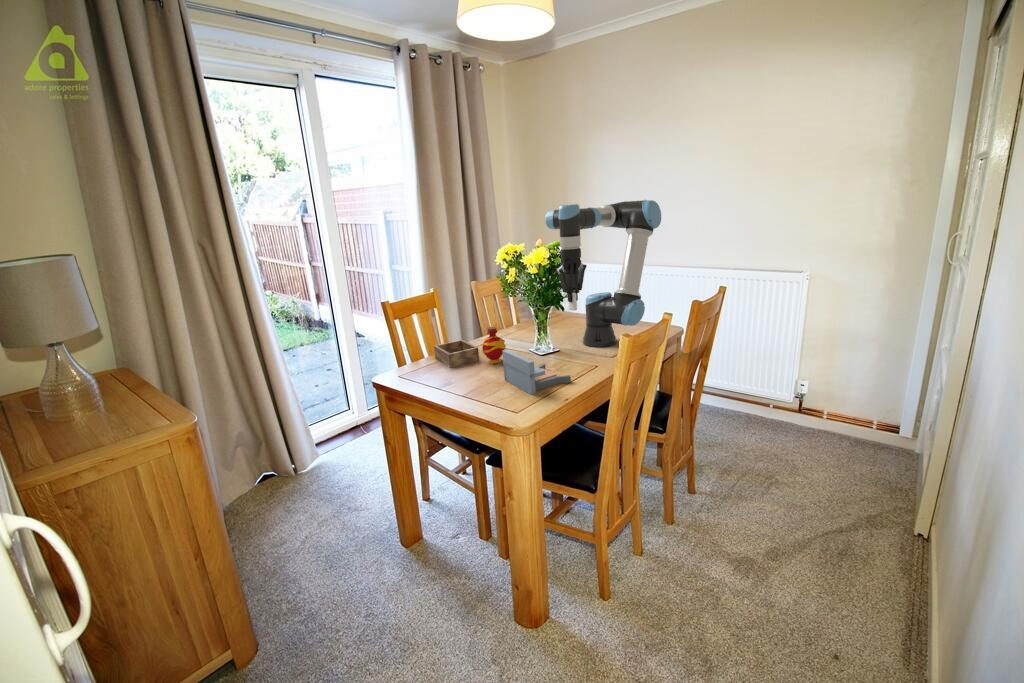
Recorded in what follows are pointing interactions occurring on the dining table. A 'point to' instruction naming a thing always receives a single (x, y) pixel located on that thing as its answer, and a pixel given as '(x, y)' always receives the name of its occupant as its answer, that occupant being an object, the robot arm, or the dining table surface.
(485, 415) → the dining table surface
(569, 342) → the dining table surface
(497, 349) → the potion bottle
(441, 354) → the walnut display tray
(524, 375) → the grey docking fixture
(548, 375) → the terracotta tile
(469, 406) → the dining table surface
